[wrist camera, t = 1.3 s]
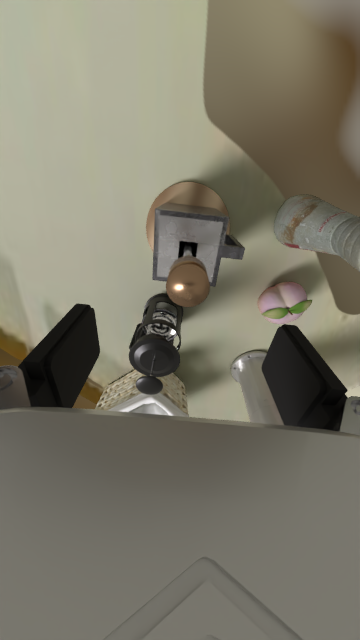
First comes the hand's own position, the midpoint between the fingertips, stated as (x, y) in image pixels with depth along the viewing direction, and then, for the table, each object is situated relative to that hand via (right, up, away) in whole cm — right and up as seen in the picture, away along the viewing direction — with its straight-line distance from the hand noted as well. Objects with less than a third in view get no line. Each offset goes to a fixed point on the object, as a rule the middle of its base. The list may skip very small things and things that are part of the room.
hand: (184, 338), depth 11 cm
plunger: (+1, +14, +23) cm, 27 cm away
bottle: (+22, +20, +29) cm, 41 cm away
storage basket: (-11, -19, +54) cm, 59 cm away
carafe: (+3, +18, +29) cm, 34 cm away
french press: (-5, +3, +40) cm, 40 cm away
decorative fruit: (+21, +7, +37) cm, 43 cm away
